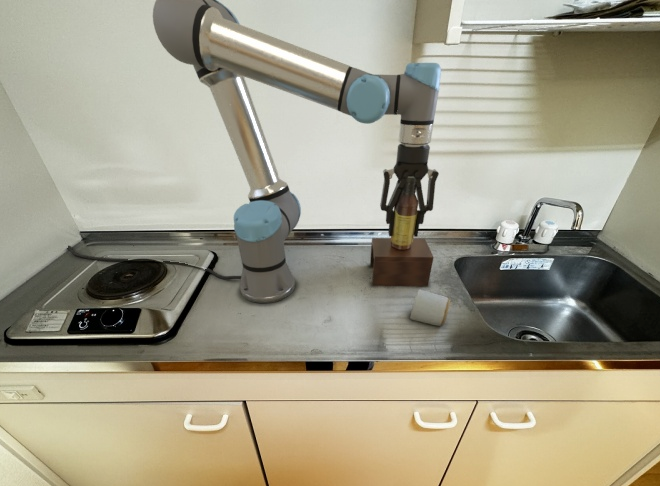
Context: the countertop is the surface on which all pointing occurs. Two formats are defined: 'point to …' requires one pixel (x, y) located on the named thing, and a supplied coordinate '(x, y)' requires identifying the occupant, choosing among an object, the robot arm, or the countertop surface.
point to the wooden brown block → (400, 263)
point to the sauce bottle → (405, 216)
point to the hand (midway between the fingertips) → (402, 234)
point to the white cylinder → (430, 308)
